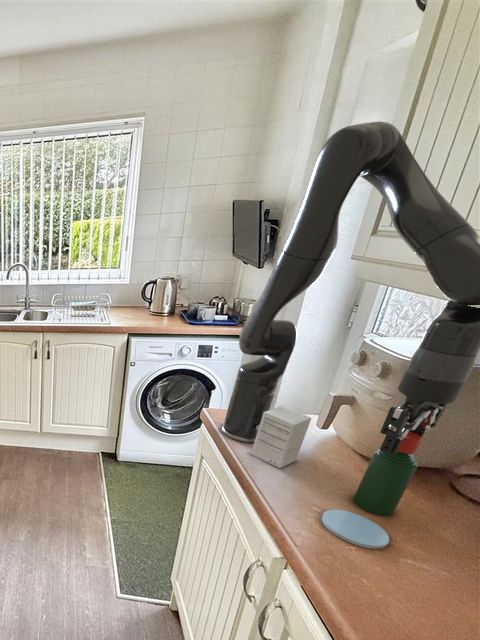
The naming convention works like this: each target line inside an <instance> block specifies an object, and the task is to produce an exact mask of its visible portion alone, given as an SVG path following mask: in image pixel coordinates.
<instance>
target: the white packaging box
mask: <svg viewBox="0 0 480 640" xmlns="http://www.w3.org/2000/svg"><path fill="white" fill-rule="evenodd" d="M311 421H312V417H311V416H308V415H306V414H303V413H300V412H297V411H296V410H291V409H289V408H287V407H284V406H280V405H279V406H277V407H274V408H272V409H271V408H270V410H269V411H266V412H264V413H263V416H262V419H261V423H260V426H259V429H258V432H257V435H256V439H255V442H253V446H252V448H251V452H250V454H251V455H252V456H254V457H256V458H257V459H260V460H262V461H264V462H265V463H268V464H270V465H272V466H274V467H276V468H278V469H281V468H283V467H285V466H288V465H290V464H291V463H293V462H296V461H297V459H298V456H299V453H300V450H301V449H302V445H303V443H304V440H305V437H306V434H307V432H308V429H309V427H310V424H311Z"/></svg>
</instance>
